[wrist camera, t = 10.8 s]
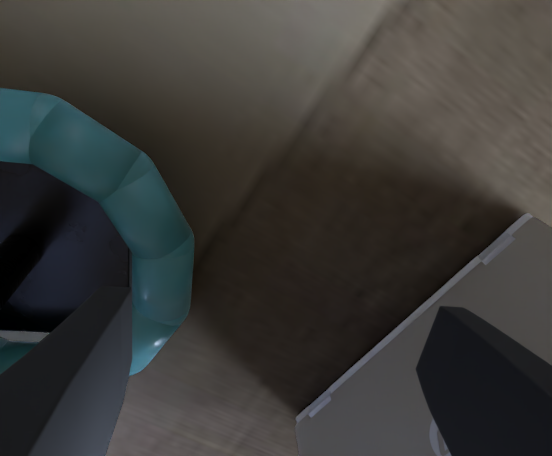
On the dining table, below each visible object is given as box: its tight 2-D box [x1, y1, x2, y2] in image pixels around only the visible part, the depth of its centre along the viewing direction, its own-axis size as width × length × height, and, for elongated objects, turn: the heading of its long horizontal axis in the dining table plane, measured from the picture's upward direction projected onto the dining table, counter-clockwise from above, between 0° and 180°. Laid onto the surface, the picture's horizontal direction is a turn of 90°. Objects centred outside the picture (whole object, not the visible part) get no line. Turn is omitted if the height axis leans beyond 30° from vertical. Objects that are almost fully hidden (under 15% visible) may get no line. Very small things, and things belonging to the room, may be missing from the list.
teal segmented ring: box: [0, 88, 194, 376], centre depth 17 cm, size 14×14×2 cm
